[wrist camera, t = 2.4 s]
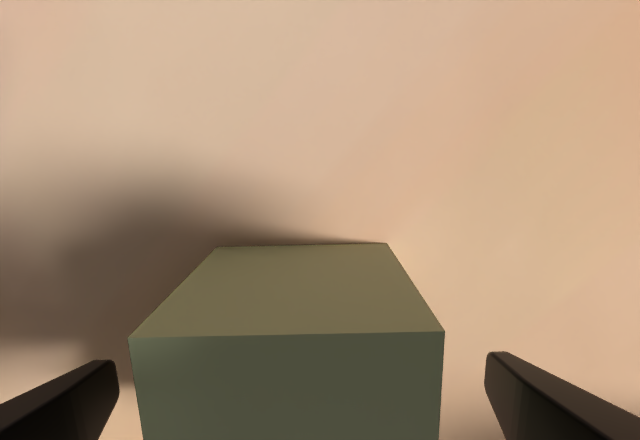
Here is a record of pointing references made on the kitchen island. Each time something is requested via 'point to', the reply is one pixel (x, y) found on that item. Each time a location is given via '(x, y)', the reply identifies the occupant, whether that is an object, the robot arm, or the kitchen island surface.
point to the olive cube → (291, 349)
